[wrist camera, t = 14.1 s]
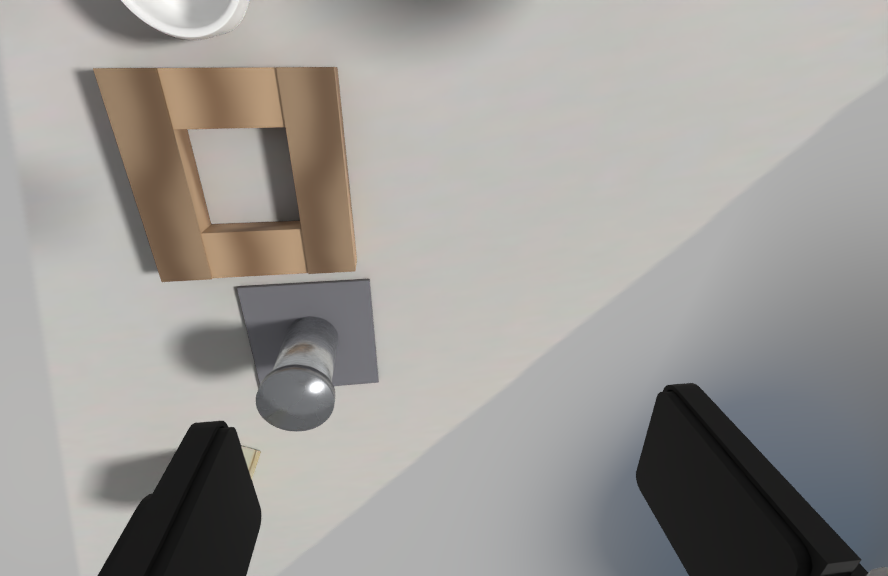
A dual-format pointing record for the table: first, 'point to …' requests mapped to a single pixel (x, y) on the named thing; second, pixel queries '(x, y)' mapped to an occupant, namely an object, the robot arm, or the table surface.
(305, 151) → the wooden square frame
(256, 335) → the mat
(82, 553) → the table surface
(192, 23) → the teacup
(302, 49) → the table surface
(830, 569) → the robot arm
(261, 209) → the table surface
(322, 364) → the grey light bulb
